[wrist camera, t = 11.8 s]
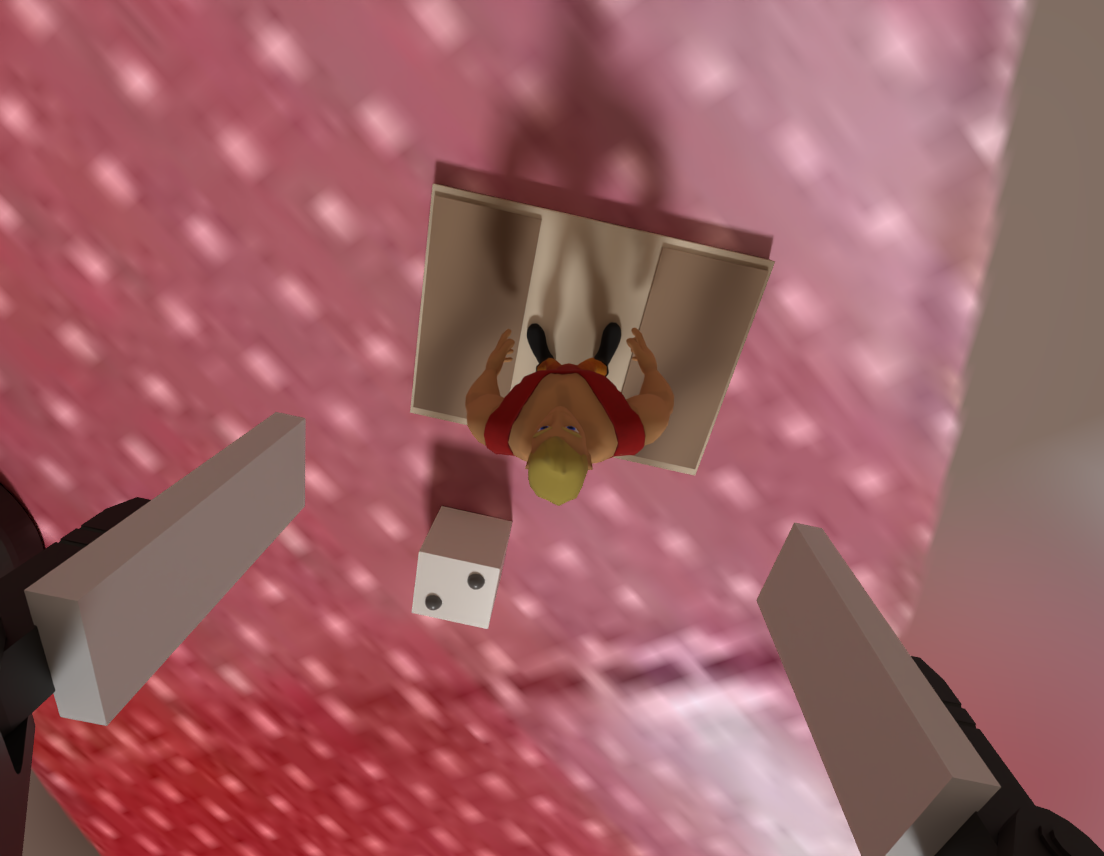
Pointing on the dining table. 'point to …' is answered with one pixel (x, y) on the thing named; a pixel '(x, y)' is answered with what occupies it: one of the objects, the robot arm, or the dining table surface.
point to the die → (461, 567)
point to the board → (580, 309)
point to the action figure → (567, 412)
